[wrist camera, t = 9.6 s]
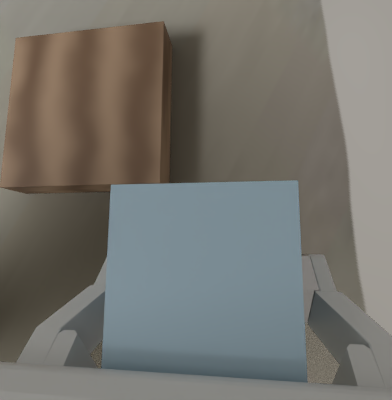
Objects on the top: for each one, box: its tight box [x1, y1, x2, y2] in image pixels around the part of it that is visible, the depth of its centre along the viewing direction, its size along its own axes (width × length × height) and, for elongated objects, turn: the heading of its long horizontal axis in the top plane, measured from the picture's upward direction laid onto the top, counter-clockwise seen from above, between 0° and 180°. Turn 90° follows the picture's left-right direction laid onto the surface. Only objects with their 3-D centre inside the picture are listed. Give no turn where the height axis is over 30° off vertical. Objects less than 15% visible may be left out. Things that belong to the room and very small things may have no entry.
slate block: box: [101, 180, 307, 383], centre depth 12 cm, size 5×5×10 cm
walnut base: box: [0, 21, 172, 194], centre depth 34 cm, size 18×18×4 cm
